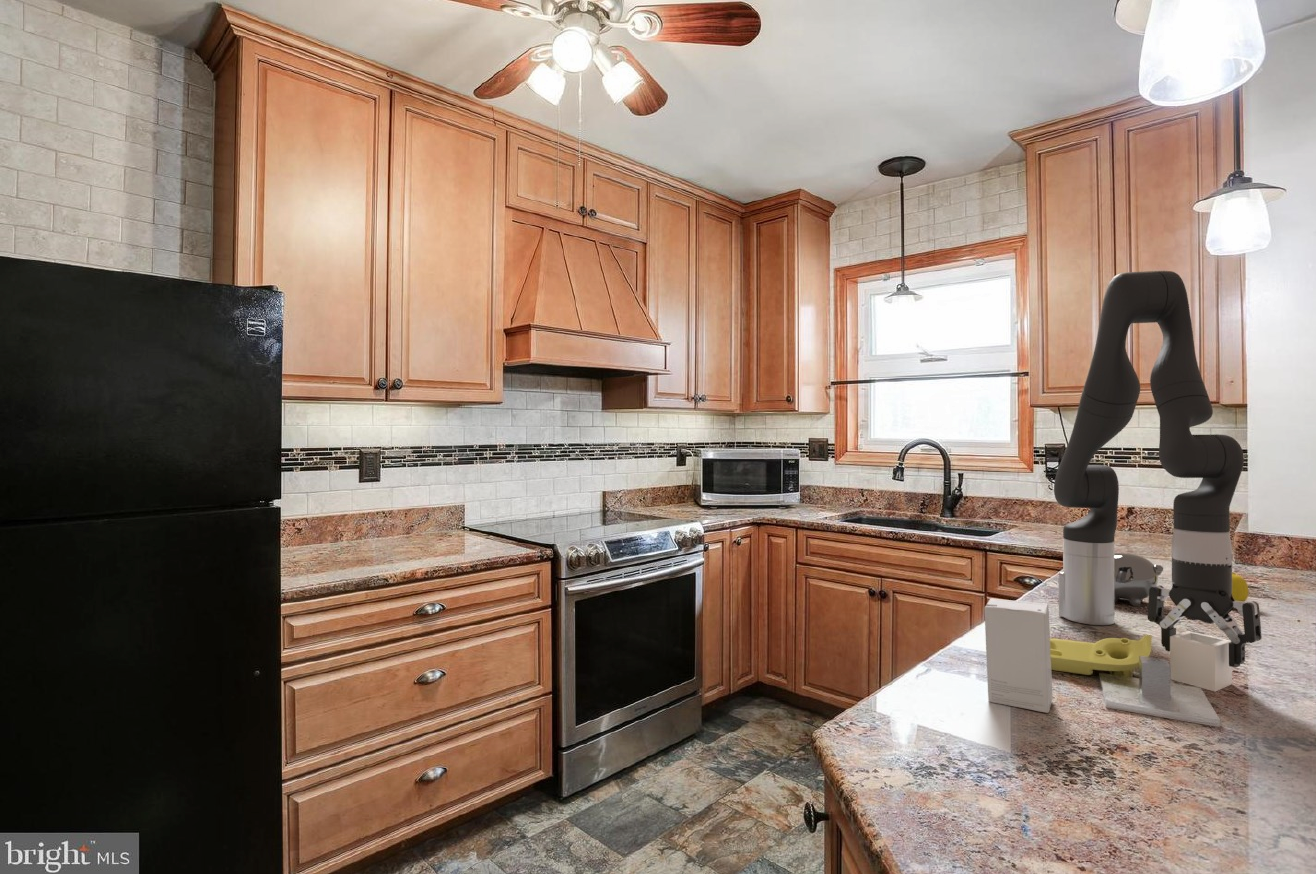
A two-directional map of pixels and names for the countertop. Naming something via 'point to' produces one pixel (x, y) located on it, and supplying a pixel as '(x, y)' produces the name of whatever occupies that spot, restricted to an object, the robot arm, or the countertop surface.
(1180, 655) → the square tube sleeve
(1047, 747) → the countertop surface
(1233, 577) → the lemon
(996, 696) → the skincare box
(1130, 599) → the piggy bank
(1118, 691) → the duct stub
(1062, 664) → the plastic component
